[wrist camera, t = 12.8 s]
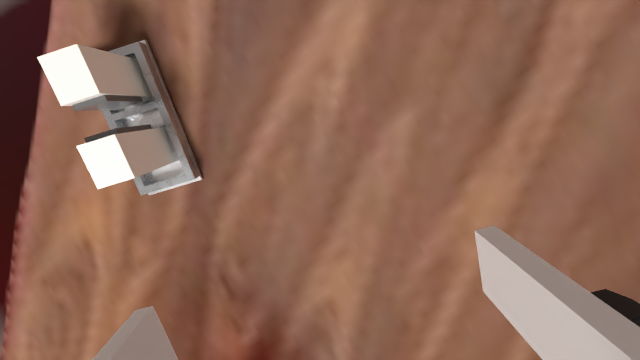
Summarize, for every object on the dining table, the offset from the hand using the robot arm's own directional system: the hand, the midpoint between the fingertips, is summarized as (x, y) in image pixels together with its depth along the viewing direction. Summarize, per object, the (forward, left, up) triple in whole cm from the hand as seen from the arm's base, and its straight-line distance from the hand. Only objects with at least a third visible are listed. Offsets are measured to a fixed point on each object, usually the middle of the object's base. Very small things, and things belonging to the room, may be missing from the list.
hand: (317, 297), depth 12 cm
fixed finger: (-16, -19, -29) cm, 38 cm away
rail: (-11, -19, -29) cm, 37 cm away
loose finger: (-8, -19, -29) cm, 35 cm away
